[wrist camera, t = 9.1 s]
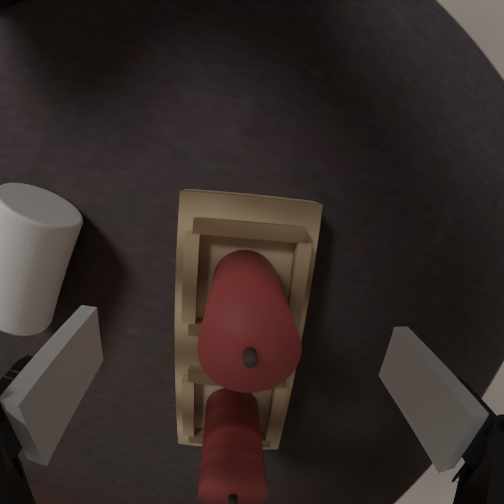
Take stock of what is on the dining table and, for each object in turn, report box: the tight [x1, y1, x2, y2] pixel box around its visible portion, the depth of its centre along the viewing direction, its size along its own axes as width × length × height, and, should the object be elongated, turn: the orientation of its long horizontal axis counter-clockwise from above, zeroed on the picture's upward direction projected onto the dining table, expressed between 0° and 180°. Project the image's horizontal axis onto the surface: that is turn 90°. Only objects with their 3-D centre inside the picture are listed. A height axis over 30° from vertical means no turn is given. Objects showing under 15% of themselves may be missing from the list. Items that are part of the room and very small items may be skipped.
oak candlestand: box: [175, 189, 323, 504], centre depth 21 cm, size 24×10×14 cm, turn 174°
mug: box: [0, 183, 83, 336], centre depth 21 cm, size 12×10×8 cm
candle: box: [197, 250, 302, 393], centre depth 18 cm, size 5×5×11 cm
